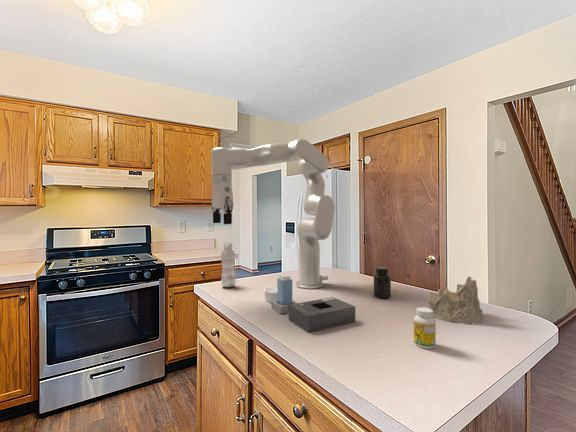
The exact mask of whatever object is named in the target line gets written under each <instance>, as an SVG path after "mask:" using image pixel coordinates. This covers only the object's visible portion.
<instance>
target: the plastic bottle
mask: <svg viewBox="0 0 576 432" xmlns="http://www.w3.org/2000/svg"><path fill="white" fill-rule="evenodd" d="M223 248H224V249H223V251H222V252H221V254H220V259H221V267H222V268H221V278H220V279H221V281H220V282H221V286H222V287H223V288H233V287H235V286H236V284H237V280H236V274H235V273H236V272H235V262H236V254H235V251H234V250H233V243H231V242H230V243H223Z"/></svg>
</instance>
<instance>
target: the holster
mask: <svg viewBox="0 0 576 432" xmlns="http://www.w3.org/2000/svg"><path fill="white" fill-rule="evenodd" d="M296 303H297V301H294V300H293V299H292V304H296ZM289 305H291V304H288V305H280V304H278V303H277V300H276V301H272V303H271V309H272V310H274V311H276V312H277V313H279V314H281V315H282V314H286V313H288V314H289Z"/></svg>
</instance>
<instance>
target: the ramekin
mask: <svg viewBox="0 0 576 432" xmlns="http://www.w3.org/2000/svg"><path fill="white" fill-rule="evenodd" d="M263 292H264V299H265V301H266V302H268V303H270V304H272V301H276V300H277V286H268V287H266V288H264V289H263Z"/></svg>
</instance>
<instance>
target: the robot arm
mask: <svg viewBox="0 0 576 432" xmlns="http://www.w3.org/2000/svg"><path fill="white" fill-rule="evenodd" d="M210 153H211V154H210V156H211V157H210V158H211V160H210V162H211V164H210V165H211V169H210V170H211V171H210V172H211V184H212V191H211V192H212V193H211V210H212V224H221V223H222V214H221V210H222V211H223V225H232V224H233V219H232V218H233V216H232V215H233V209H234V193H233V186H232V170H233V171H234V170H241V169H246V168H252V167H253V168H254V167H262V166H269V165H275V164H280V163H288V162H293V161H297V160H300V161H299V163H298V170H299V171H300V173H301V175H302V176H303V178H305V181H306V189H305V190H306V191H305V196H304V203H303V211H304V213H305V214H307V215H309V216H314V217H305V218H303V219H301V220H300V221H299V222H298V224H297V227H296V228H297V229H296V231H297V237H298V247H299V249H298V251H299V252H298V253H299V255H298V257H299V263H298V264H299V265H298V266H299V267H298V268H299V269H298V270H299V272H298V275H299V276H298V277H299V281H296V282H295V286H296V287H298V288H301V289H307V290H308V289H309V290H311V289H312V290H313V289H318V288H319V289H320V288H322V287H323V286H324V283H323V282H324V281H328V280H329V276H328V275H321V273H320V272H321V271H320V270H321V268H320V266H321V265H320V263H321V262H320V260H321V259H320V258H321V251H320V250H321V248H320V247H321V246H320V243H319V241H324V240H326V239H328V238H329V237H330V235H331V232H332V228H333V222H334V215H335V202H334V199H333V198H332V197H331V196H330V195H327V194H325V190H326V189H325V187H326V184H325V179H324V178H323V175H322V174H324V173H326V172H327V171H328V170H329V166H330V161H329V159H328V158H327V157H328V156H326V155H325V154H324V153H323V152H322V151H321V150H319V149H318V148H317V147H316V146H315V145H313V144H312V143H311V141H310V142H309V141H308V140H306V139H304V138H297V139H294V140H291V141H285V142H278V143H269V144H265V145H261V146H258V147H254V148H250V149H246V148H227V147H215V148H214V147H213V148H212V149H211V151H210Z"/></svg>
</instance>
